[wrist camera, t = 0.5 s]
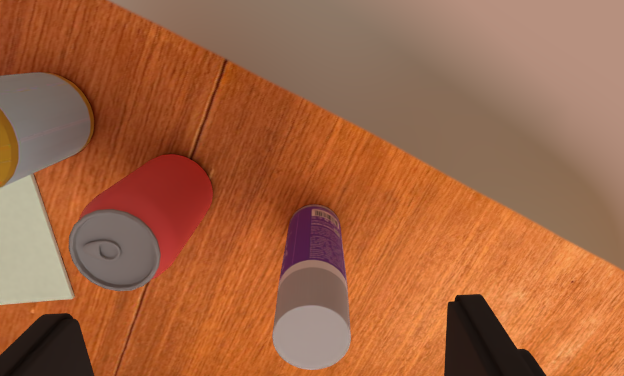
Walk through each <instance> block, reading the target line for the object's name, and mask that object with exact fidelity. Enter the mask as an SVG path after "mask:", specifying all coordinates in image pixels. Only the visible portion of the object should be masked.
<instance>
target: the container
mask: <svg viewBox="0 0 624 376" xmlns="http://www.w3.org/2000/svg"><path fill="white" fill-rule="evenodd" d="M350 341H351V333H350V319H349V304H348V287H347V279H346V270H345V262H344V253H343V245H342V236H341V228H340V222H339V219H338V217H337V216H336V214H335V213H334V212H333V211H332V210H330V209H329V208H327V207H325V206H322V205H315V204H314V205H307V206H304V207H302V208H300V209H299V210H297V211H296V212H295V213H294V215H293V216H292V218H291V220H290V224H289V229H288V234H287V240H286V246H285V252H284V257H283V263H282V269H281V275H280V280H279V287H278V296H277V304H276V312H275V320H274V328H273V343H274V347H275V349H276V351H277V352H278V354H279V355H280V356H281V357H282V358H283V359H284V360H285V361H286V362H288V363H289V364H291V365H293V366H296V367H298V368H302V369H309V370H316V369H322V368H326V367H329V366H331V365H333V364H335V363H336V362H338V361H339V360H340V359H341V358H342V357H343V356H344V355H345V354H346V352H347V350H348V348H349V346H350Z"/></svg>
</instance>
